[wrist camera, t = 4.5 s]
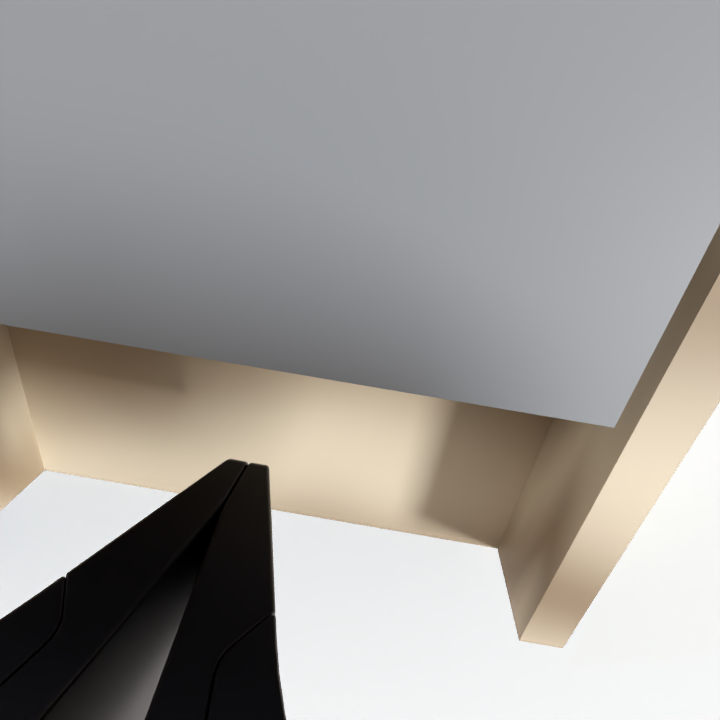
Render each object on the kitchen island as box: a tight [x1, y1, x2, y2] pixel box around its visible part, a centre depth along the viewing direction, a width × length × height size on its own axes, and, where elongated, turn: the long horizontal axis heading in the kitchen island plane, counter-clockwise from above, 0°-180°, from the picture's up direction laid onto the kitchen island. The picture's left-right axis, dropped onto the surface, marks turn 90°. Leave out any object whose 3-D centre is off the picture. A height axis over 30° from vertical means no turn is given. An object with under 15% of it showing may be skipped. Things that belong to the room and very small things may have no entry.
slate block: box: [0, 0, 720, 428], centre depth 6 cm, size 6×10×4 cm, turn 82°
